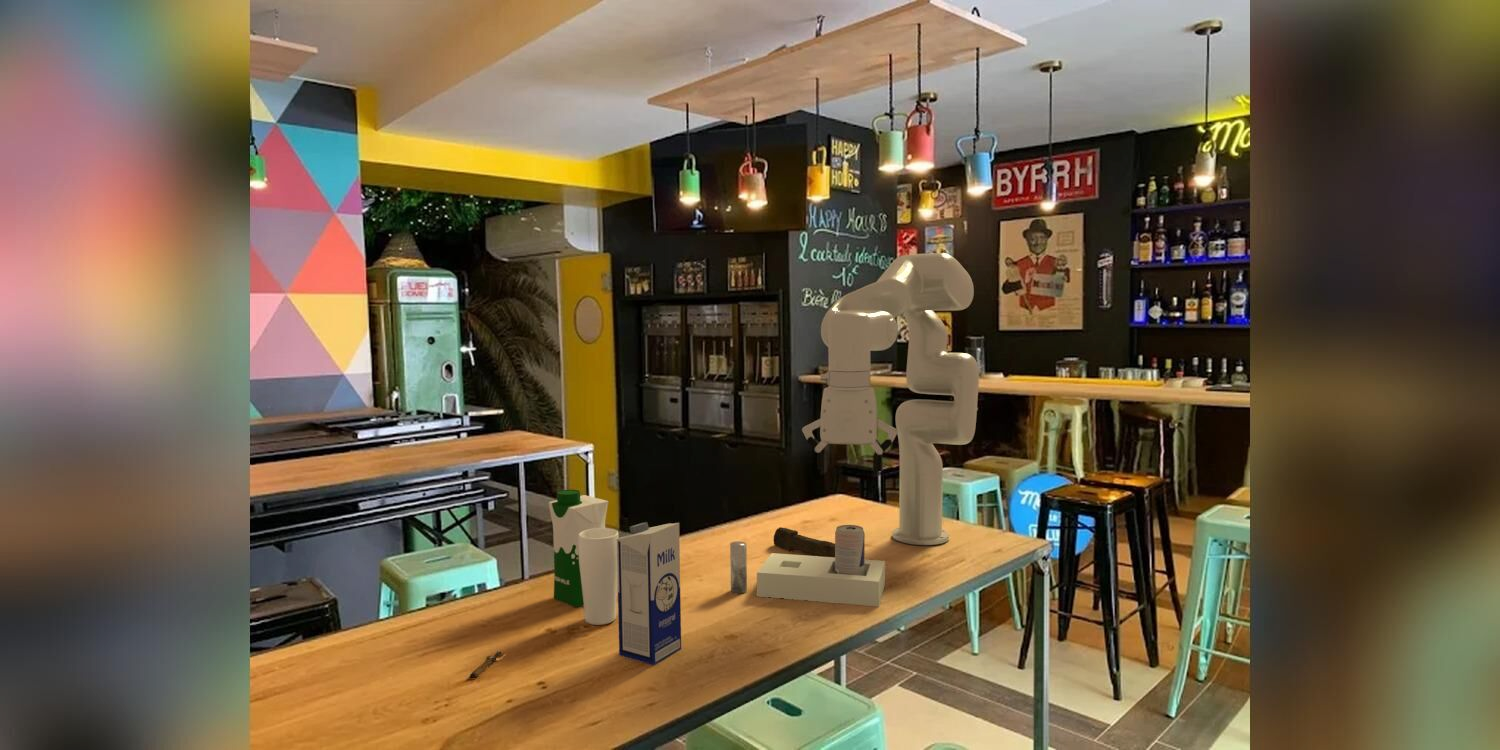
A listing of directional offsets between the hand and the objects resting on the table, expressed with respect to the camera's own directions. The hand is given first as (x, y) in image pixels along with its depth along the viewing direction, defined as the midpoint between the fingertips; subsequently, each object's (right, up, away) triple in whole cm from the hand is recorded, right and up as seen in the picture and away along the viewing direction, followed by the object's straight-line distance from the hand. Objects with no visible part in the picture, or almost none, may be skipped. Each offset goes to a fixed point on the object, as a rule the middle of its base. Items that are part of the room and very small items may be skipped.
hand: (849, 474), depth 147 cm
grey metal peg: (-20, -22, +3) cm, 30 cm away
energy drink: (0, -22, +2) cm, 22 cm away
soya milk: (-49, -23, 0) cm, 54 cm away
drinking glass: (-43, -24, -11) cm, 51 cm away
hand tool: (-6, -21, +25) cm, 33 cm away
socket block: (-5, -22, +3) cm, 23 cm away
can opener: (-57, -25, -28) cm, 68 cm away
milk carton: (-33, -25, -24) cm, 48 cm away
